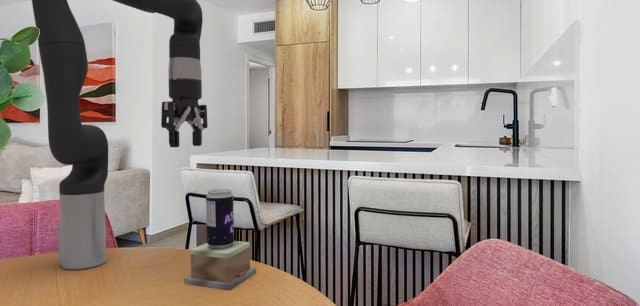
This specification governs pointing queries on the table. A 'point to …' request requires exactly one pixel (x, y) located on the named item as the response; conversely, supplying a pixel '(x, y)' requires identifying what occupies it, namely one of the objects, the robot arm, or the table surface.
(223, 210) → the beverage can
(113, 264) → the table surface
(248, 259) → the block
